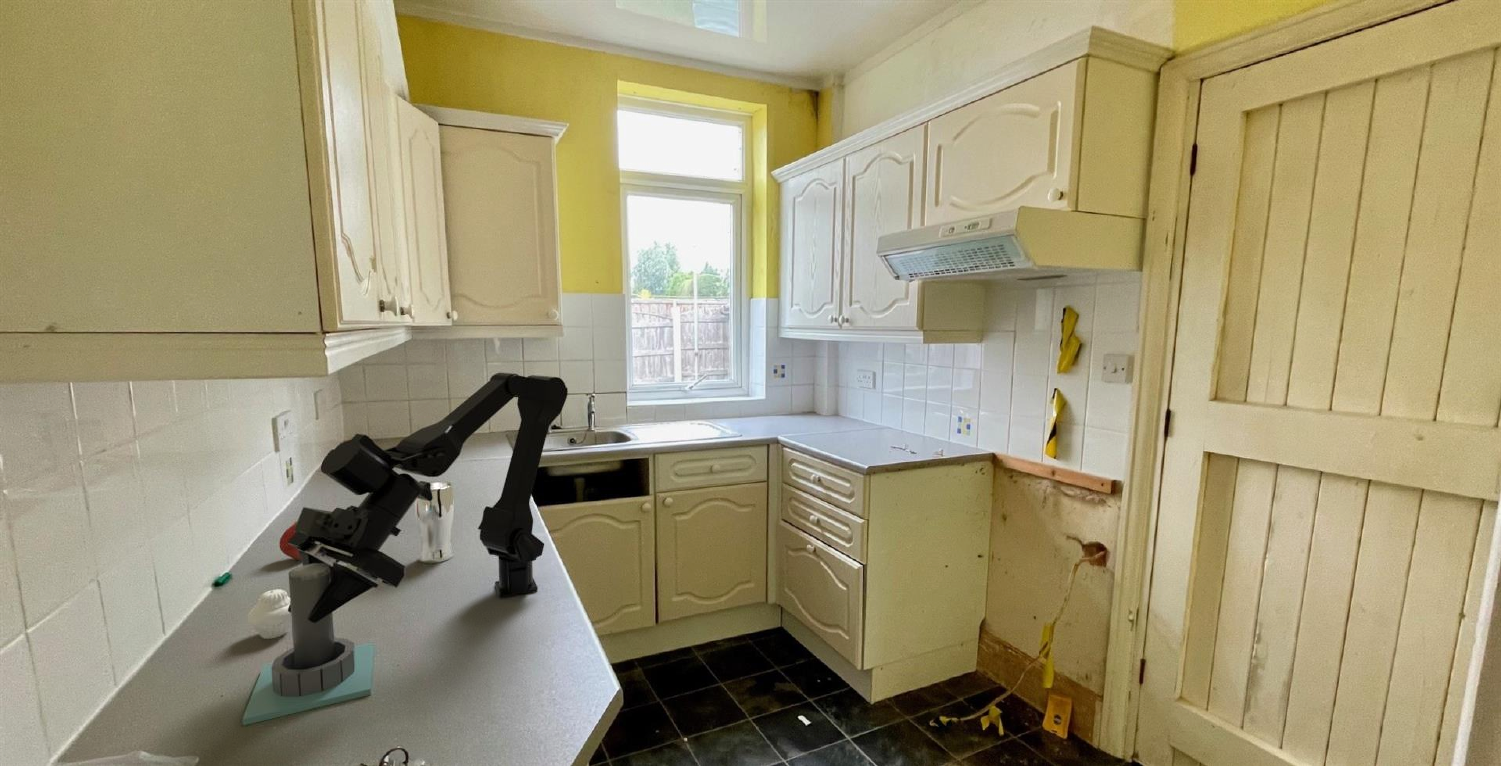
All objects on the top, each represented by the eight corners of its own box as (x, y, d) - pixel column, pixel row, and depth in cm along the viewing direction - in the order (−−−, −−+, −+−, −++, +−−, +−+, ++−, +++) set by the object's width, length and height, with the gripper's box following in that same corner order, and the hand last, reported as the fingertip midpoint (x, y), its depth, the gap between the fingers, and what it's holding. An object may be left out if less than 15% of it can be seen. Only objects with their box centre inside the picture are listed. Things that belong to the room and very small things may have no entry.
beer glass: (445, 548, 129) (443, 479, 128) (461, 557, 125) (459, 485, 123) (410, 558, 124) (408, 485, 122) (426, 567, 120) (423, 492, 118)
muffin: (308, 629, 95) (305, 586, 95) (262, 648, 90) (259, 602, 89) (286, 620, 98) (283, 578, 97) (240, 637, 93) (237, 593, 92)
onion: (273, 563, 120) (270, 523, 119) (300, 552, 126) (298, 514, 125) (296, 566, 119) (294, 526, 118) (323, 555, 124) (321, 517, 123)
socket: (264, 670, 84) (262, 644, 84) (374, 647, 91) (373, 622, 90) (242, 725, 73) (240, 695, 73) (370, 694, 79) (369, 666, 79)
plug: (311, 650, 84) (306, 562, 83) (342, 651, 84) (337, 563, 82) (285, 668, 80) (279, 576, 78) (318, 670, 79) (313, 577, 78)
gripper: (299, 473, 87) (208, 576, 78) (379, 492, 78) (286, 610, 70) (359, 511, 95) (282, 609, 86) (437, 533, 86) (361, 644, 78)
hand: (300, 617), depth 80 cm, fingers closed on plug, 4 cm apart
